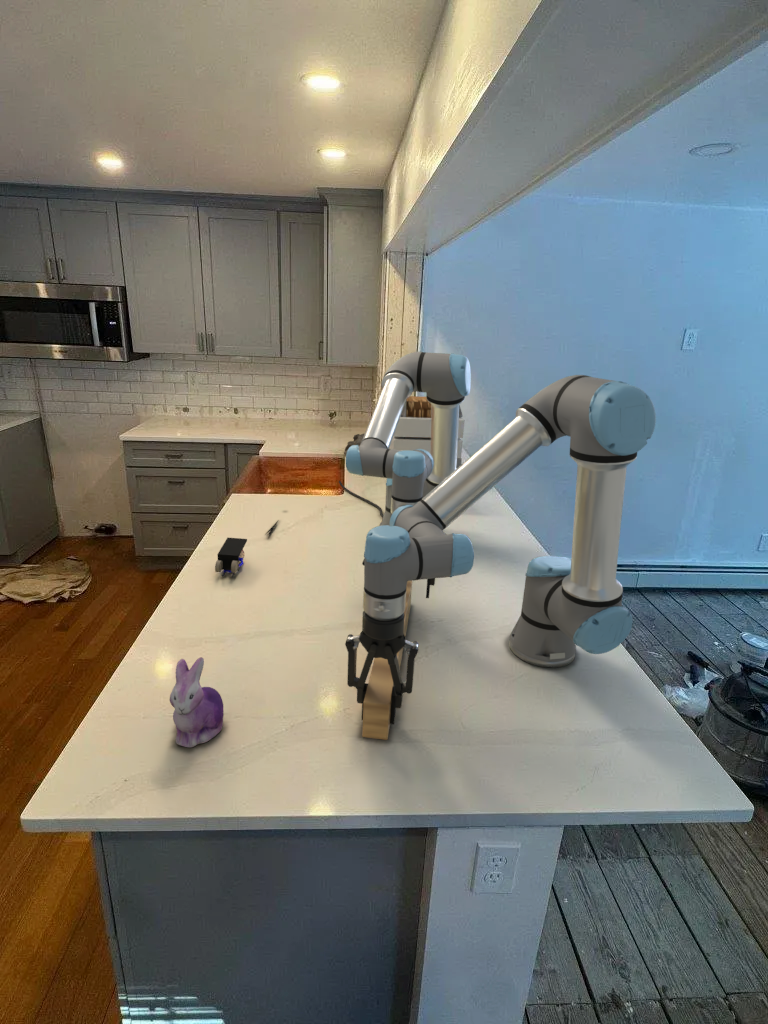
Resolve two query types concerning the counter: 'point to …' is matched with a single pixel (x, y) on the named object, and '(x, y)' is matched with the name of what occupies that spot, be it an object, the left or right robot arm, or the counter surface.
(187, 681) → the figurine
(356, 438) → the fossil
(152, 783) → the counter surface
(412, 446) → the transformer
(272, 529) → the feather
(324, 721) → the counter surface
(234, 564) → the black boxy wheeled piece
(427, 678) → the counter surface
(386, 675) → the post
